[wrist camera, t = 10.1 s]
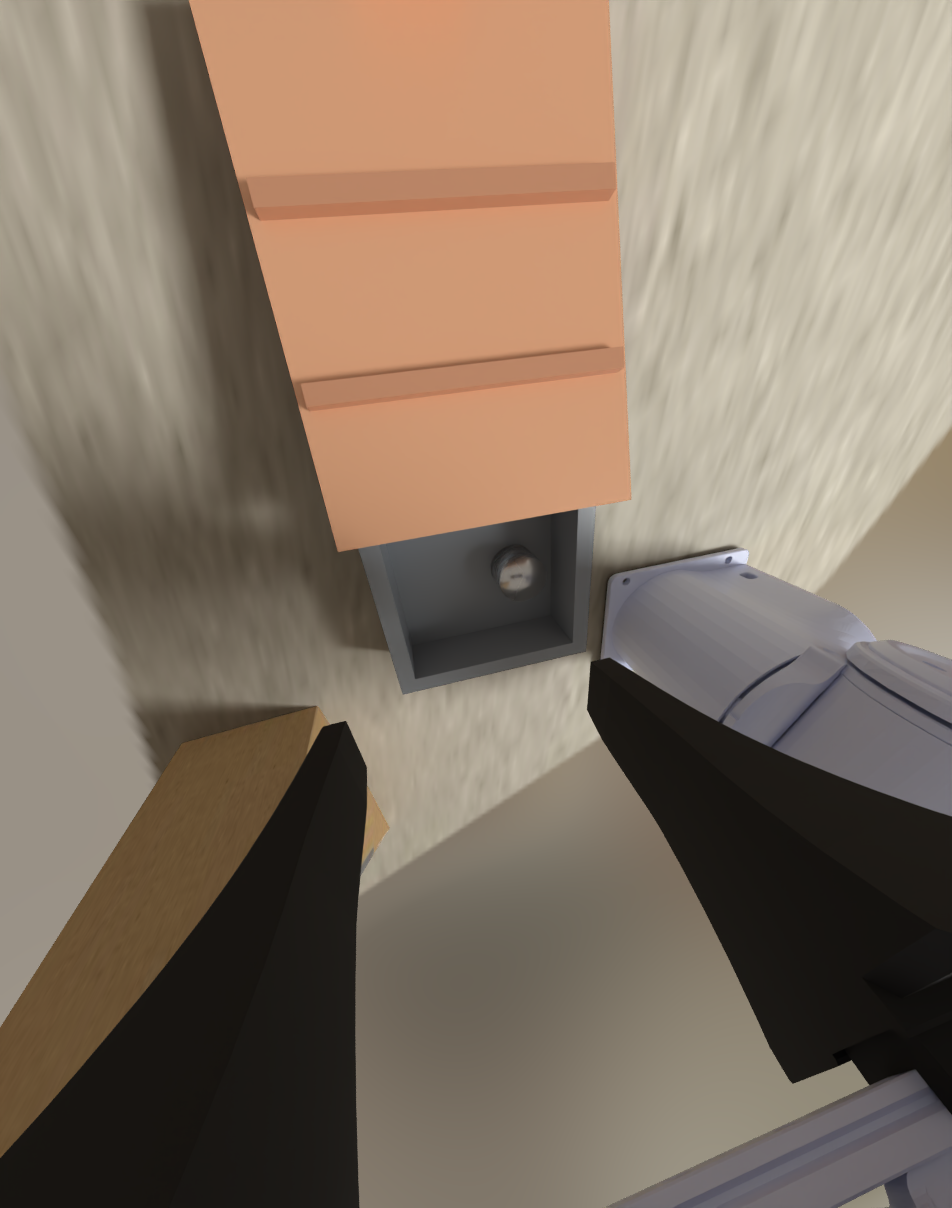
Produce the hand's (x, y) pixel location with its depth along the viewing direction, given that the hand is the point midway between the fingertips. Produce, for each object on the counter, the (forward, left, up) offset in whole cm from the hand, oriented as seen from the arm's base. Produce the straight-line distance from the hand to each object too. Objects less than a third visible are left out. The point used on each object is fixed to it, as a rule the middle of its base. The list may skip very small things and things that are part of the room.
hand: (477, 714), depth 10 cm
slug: (-4, 0, -9) cm, 10 cm away
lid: (-2, -12, -7) cm, 15 cm away
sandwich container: (+12, +15, -10) cm, 22 cm away
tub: (-2, -2, -10) cm, 10 cm away
